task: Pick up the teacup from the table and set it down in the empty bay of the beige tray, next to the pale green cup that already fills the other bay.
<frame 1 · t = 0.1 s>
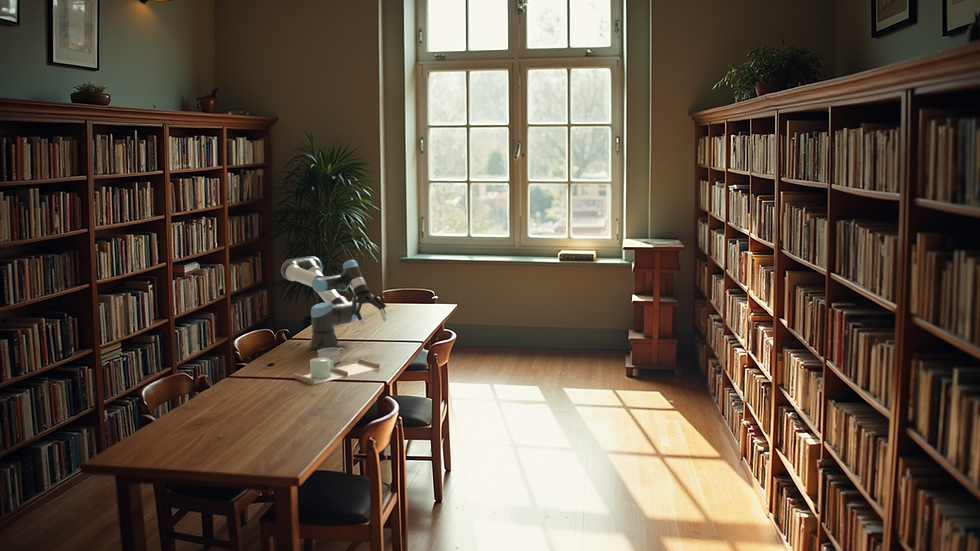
hand: (375, 322, 434), 15 cm above the table, tool tilted 35°, fingers open, 13 cm apart
pale green cup: (320, 376, 387), resting on beige tray
beige tray: (337, 374, 394), on the table
teacup: (332, 365, 413), on the table
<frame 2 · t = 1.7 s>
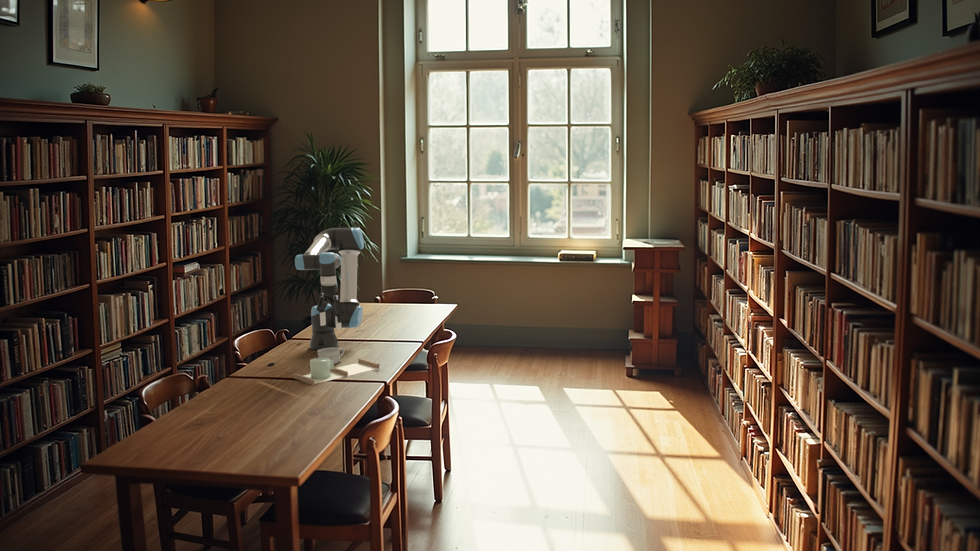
hand: (330, 327, 410), 19 cm above the table, tool pointing down, fingers open, 13 cm apart
nothing on the table moved.
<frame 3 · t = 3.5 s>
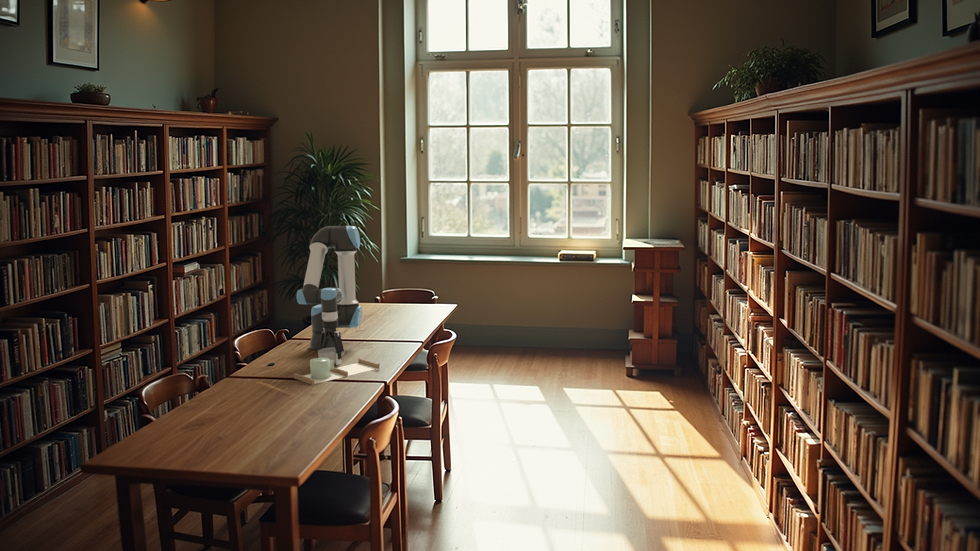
hand: (332, 363, 413), 1 cm above the table, tool pointing down, fingers closed on teacup, 11 cm apart
teacup: (332, 365, 412), on the table, touching gripper
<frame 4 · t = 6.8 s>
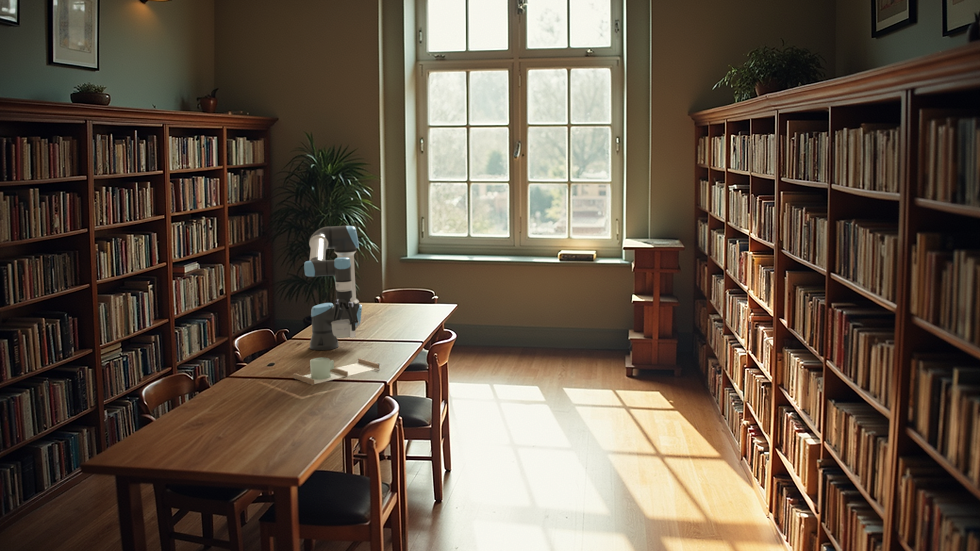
hand: (346, 335, 399), 17 cm above the table, tool pointing down, fingers closed on teacup, 11 cm apart
teacup: (346, 337, 399), point 16 cm above the table, touching gripper
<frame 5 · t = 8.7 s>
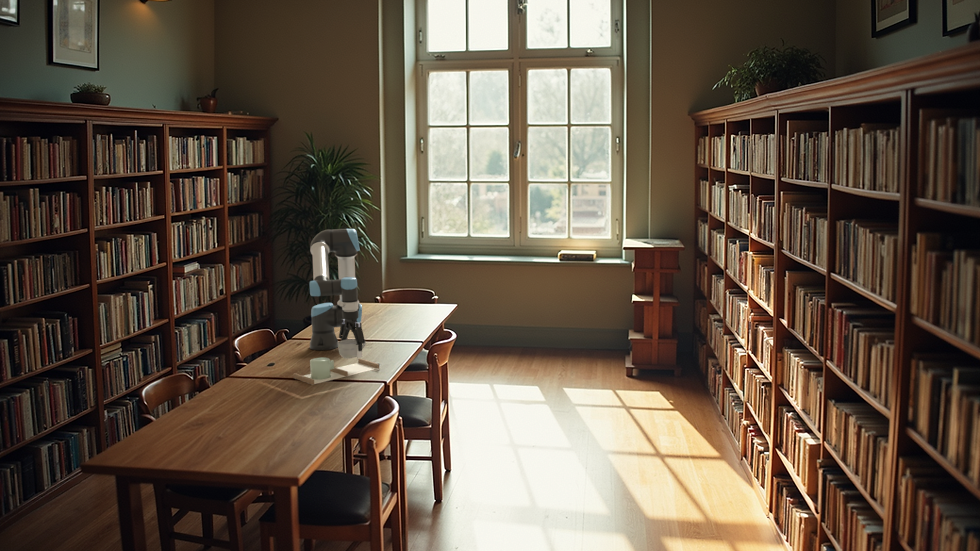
hand: (352, 355, 398), 8 cm above the table, tool pointing down, fingers closed on teacup, 11 cm apart
teacup: (353, 357, 398), point 7 cm above the table, touching gripper
when the fingers open (3 cm above the table, at t = 10.1 s): teacup drops 2 cm, resting on beige tray.
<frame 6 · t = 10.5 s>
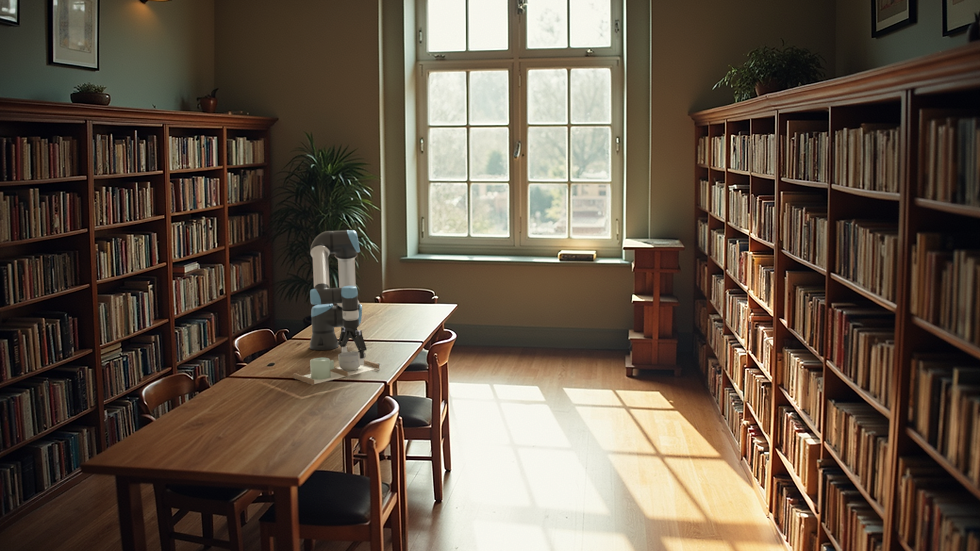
hand: (352, 362, 399), 4 cm above the table, tool pointing down, fingers open, 13 cm apart
teacup: (353, 369, 400), point 1 cm above the table, touching beige tray
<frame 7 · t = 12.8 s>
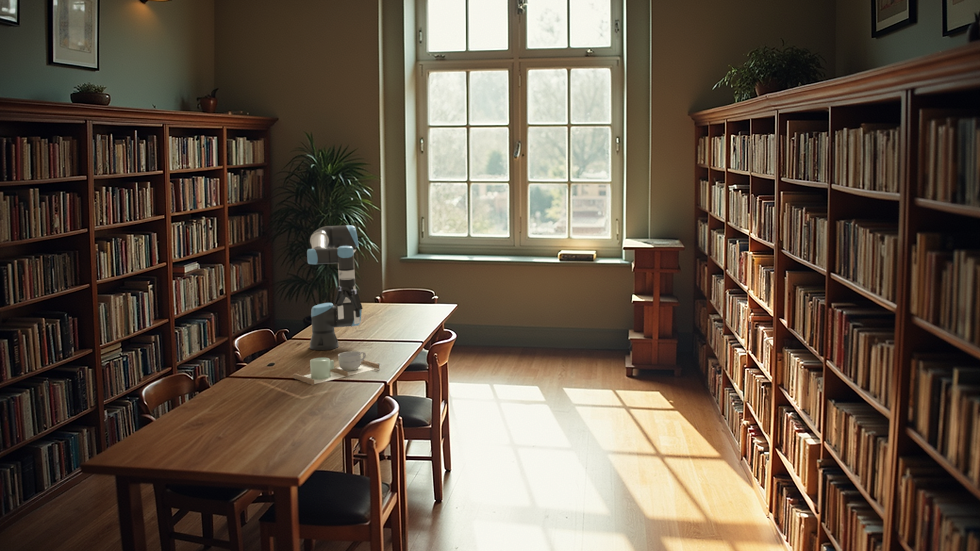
hand: (349, 321, 406), 22 cm above the table, tool pointing down, fingers open, 13 cm apart
nothing on the table moved.
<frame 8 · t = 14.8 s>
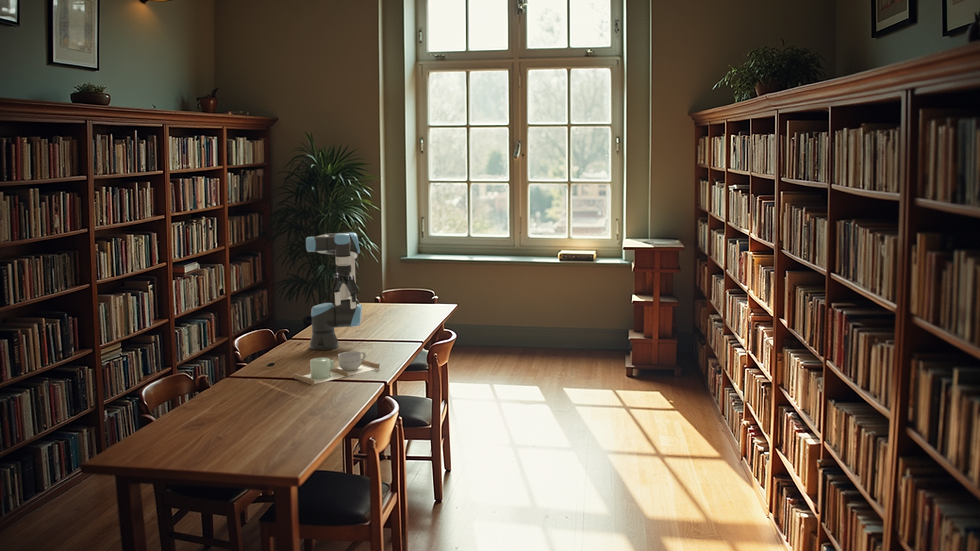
hand: (345, 306, 419), 27 cm above the table, tool pointing down, fingers open, 13 cm apart
nothing on the table moved.
at the end: teacup inside the target area on the beige tray (0.0 cm from its centre), point 0.8 cm above the beige tray's base; teacup tilted 0°; the gripper is holding nothing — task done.
